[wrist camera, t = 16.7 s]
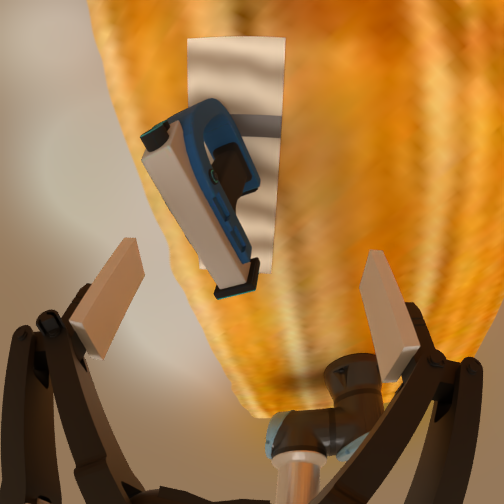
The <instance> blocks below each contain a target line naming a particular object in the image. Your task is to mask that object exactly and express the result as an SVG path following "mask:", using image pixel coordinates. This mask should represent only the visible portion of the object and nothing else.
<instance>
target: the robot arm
mask: <svg viewBox="0 0 504 504" xmlns="http://www.w3.org/2000/svg"><path fill="white" fill-rule="evenodd" d="M144 276H145V274H144V270H143V266H142V262H141V258H140V254H139V250H138V246H137V241H136V238H124V239H123V240H122V242H121V243H120V245H119V246H118V247H117V249H116V250H115V251H114V253H113V255H111V257H110V258H109V260H108V261H107V263H106V264H105V266H104V267H103V268H102V270H101V271H100V273H99V274H98V276H97V277H96V279H95V280H94V282H93V283H92V284H89V283H87V284H86V285H85V286H83V287H82V288H81V289H80V290H79V292H78V293H77V295H76V297H75V298H74V299H73V301H72V303H71V304H70V305H69V307H68V308H67V310H66V312H65V313H64V315H63V316H62V318H60V316H59V314H58V312H57V311H55V310H47V311H45V312H43V313H42V314H41V315H39V317H38V319H37V321H36V326H37V327H38V329H39V330H40V332H33V330H32V329H31V327H30V326H28V325H24V326H21V327H19V328H18V329H17V330H16V331H15V332H14V334H13V337H12V341H11V347H10V352H9V358H8V364H7V370H6V377H5V385H4V395H3V405H2V406H3V407H2V421H1V467H2V483H1V488H0V504H62V498H61V488H60V481H59V474H58V466H57V458H56V447H55V433H54V409H53V407H54V406H53V392H54V396H55V400H56V404H57V408H58V412H59V415H60V419H61V422H62V425H63V429H64V432H65V435H66V438H67V441H68V444H69V447H70V450H71V453H72V455H73V458H74V461H75V464H76V468H75V469H74V476H75V479H76V481H77V484H78V486H79V489H80V491H81V493H82V495H83V497H84V499H85V502H86V504H270V501H268V500H249V499H239V500H230V501H219V502H211V501H208V500H205V499H203V498H201V497H198V496H196V495H193V494H191V493H188V492H186V491H182V490H177V489H172V488H167V487H163V486H160V488H159V489H155V490H149V491H145V489H144V487H143V486H142V484H141V483H140V481H139V480H138V479H137V478H136V477H135V475H134V474H133V472H132V471H131V469H130V467H129V465H128V463H127V461H126V459H125V457H124V455H123V453H122V451H121V449H120V447H119V445H118V443H117V441H116V438H115V436H114V434H113V432H112V429H111V427H110V425H109V422H108V420H107V417H106V415H105V413H104V410H103V408H102V405H101V402H100V400H99V398H98V395H97V392H96V389H95V386H94V383H93V381H92V378H91V375H90V372H89V368H88V365H87V363H86V359H85V358H84V354H85V352H86V351H87V352H88V354H89V356H90V357H91V358H94V359H98V360H102V361H103V360H104V358H105V355H106V353H107V351H108V349H109V346H110V345H111V342H112V340H113V338H114V336H115V334H116V332H117V330H118V328H119V326H120V323H121V321H122V319H123V317H124V315H125V313H126V311H127V309H128V307H129V305H130V303H131V301H132V299H133V297H134V295H135V293H136V292H137V290H138V288H139V286H140V284H141V282H142V280H143V278H144ZM359 289H360V292H361V296H362V300H363V304H364V307H365V311H366V315H367V319H368V323H369V327H370V331H371V335H372V339H373V343H374V348H375V352H376V356H375V355H372V354H354V355H349V356H345V357H343V358H340V359H338V360H336V361H334V362H333V363H331V364H330V365H329V366H328V367H327V368H326V370H325V372H324V378H325V384H326V386H327V388H328V390H329V392H330V394H331V396H332V399H333V401H334V408H326V409H315V410H303V411H295V410H291V411H287V412H278V413H276V414H275V415H273V417H272V418H271V420H270V422H269V426H268V429H267V435H266V444H265V452H266V456H267V458H269V459H272V465H273V466H274V467H275V468H277V469H278V480H277V491H276V503H275V504H367V502H368V501H369V499H370V498H371V497H372V496H373V494H374V493H375V492H376V490H377V489H378V488H379V486H380V485H381V484H382V482H383V481H384V479H385V478H386V477H387V475H388V474H389V472H390V471H391V469H392V468H393V466H394V465H395V463H396V461H397V460H398V458H399V457H400V456H401V454H402V452H403V451H404V449H405V447H406V446H407V444H408V443H409V441H410V439H411V437H412V436H413V434H414V432H415V430H416V429H417V427H418V425H419V423H420V421H421V420H422V418H423V416H424V414H425V412H426V410H427V408H428V406H429V404H430V402H431V400H434V406H433V410H432V415H431V419H430V423H429V427H428V432H427V435H426V439H425V443H424V446H423V450H422V453H421V457H420V460H419V463H418V466H417V469H416V473H415V475H414V478H413V481H412V484H411V487H410V489H409V492H408V495H407V497H406V500H405V502H404V504H463V500H464V497H465V493H466V490H467V486H468V482H469V478H470V474H471V469H472V464H473V460H474V455H475V448H476V443H477V437H478V430H479V422H480V413H481V403H482V388H483V368H482V365H481V363H480V362H479V361H478V360H477V359H475V358H473V357H466V358H464V359H463V360H462V362H461V363H459V362H454V361H450V360H447V359H446V357H445V356H444V354H443V353H442V352H440V351H439V350H436V349H435V347H434V344H433V342H432V339H431V336H430V334H429V331H428V329H427V326H426V323H425V321H424V319H423V316H422V314H421V311H420V309H419V308H418V307H417V306H416V305H415V304H414V302H404V300H403V297H402V295H401V292H400V290H399V287H398V285H397V283H396V280H395V278H394V276H393V273H392V271H391V269H390V266H389V264H388V262H387V260H386V257H385V255H384V253H383V251H382V250H370V251H369V255H368V258H367V262H366V266H365V269H364V273H363V276H362V280H361V283H360V286H359ZM401 375H402V379H403V383H402V384H401V386H400V387H399V388H398V390H397V391H396V392H395V393H396V394H395V395H394V397H393V399H392V400H391V402H390V403H389V405H388V406H387V408H386V409H385V411H384V406H383V400H382V395H381V387H382V383H388V382H397V380H398V379H399V378H400V376H401ZM332 455H336V458H337V460H339V461H347V462H346V463H345V465H344V466H343V467H342V468H341V469H340V470H339V472H338V473H337V474H336V475H335V476H334V478H333V479H332V480H331V481H330V482H329V483H328V484H327V485H326V486H325V487H324V488H323V490H322V491H321V492H320V468H321V467H323V466H324V465H325V464H326V462H327V456H332Z"/></svg>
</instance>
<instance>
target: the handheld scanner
mask: <svg viewBox="0 0 504 504" xmlns="http://www.w3.org/2000/svg"><path fill="white" fill-rule="evenodd" d="M140 138H141V140H142V142H143V144H144V145H145V147H146V150H145V152H144V154H143V157H142V159H141V161H142V163H143V165H144V166H145V168H146V170H147V172H148V173H149V175H150V177H151V179H152V180H153V182H154V184H155V185H156V187H157V189H158V191H159V192H160V194H161V196H162V197H163V199H164V201H165V203H166V205H167V206H168V208H169V210H170V211H171V213H172V214H173V216H174V217H175V219H176V221H177V222H178V224H179V225H180V227H181V229H182V230H183V232H184V234H185V236H186V238H187V239H188V241H189V242H190V244H191V245H192V246H193V248H194V250H195V251H196V253H197V254H198V256H199V258H200V259H201V261H202V262H203V264H204V266H205V267H206V269H207V270H208V272H209V273H210V275H211V276H212V278H213V279H214V281H215V282H216V284H217V285H216V288H215V291H214V296H215V297H216V299H217V300H219V299H223V298H227V297H231V296H236V295H240V294H244V293H248V292H252V291H255V290H256V286H257V280H258V274H259V268H260V260H259V258H258V257H255V258H252V259H251V253H252V246H251V244H250V242H249V240H248V237H247V235H246V233H245V231H244V229H243V227H242V226H241V224H240V222H239V220H238V218H237V216H236V204H237V200H238V199H239V198H240V197H242V196H244V195H247V194H250V193H253V192H256V190H258V187H260V182H261V179H260V177H259V175H258V172H257V170H256V168H255V166H254V163H253V161H252V159H251V157H250V154H249V152H248V150H247V148H246V145H245V143H244V141H243V139H242V137H241V134H240V132H239V130H238V128H237V126H236V124H235V122H234V120H233V119H232V117H231V115H230V114H229V112H228V111H227V109H226V108H225V107H224V105H223V104H222V103H221V102H220V101H218V100H217V99H214V98H209V99H206V100H204V101H202V102H199V103H197V104H195V105H193V106H191V107H189V108H187V109H185V110H183V111H181V112H179V113H177V114H175V115H173V116H171V117H170V118H168V119H167V120H165V121H163V122H161V123H159V124H157V125H155V126H154V127H153V128H152V129H151V130H149V131H147V132H145V133H144V134H142V135H141V136H140ZM204 142H205V144H206V146H207V148H208V150H209V152H210V154H211V156H212V158H213V160H214V161H213V163H212V164H211V163H210V161H209V158H208V155H207V152H206V149H205V145H204Z"/></svg>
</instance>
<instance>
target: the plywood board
mask: <svg viewBox="0 0 504 504" xmlns="http://www.w3.org/2000/svg"><path fill="white" fill-rule="evenodd" d="M284 62H285V38H281V37H258V36H229V37H206V38H192V39H188V108H189V107H191V106H193V105H195V104H197V103H199V102H202V101H204V100H206V99H209V98H214V99H217V100H218V101H220V102H221V103H222V104H223V105H224V107H225V108H226V109H227V111H228V112H229V114H230V115H231V117H232V119H233V120H234V122H235V124H236V126H237V128H238V130H239V132H240V134H241V137H242V139H243V141H244V143H245V145H246V148H247V150H248V152H249V154H250V157H251V159H252V161H253V163H254V166H255V168H256V170H257V172H258V175H259V177H260V179H261V182H260V187H258V190H256V192H253V193H250V194H247V195H244V196H242V197H240V198H239V199H238V200H237V204H236V216H237V218H238V220H239V222H240V224H241V226H242V227H243V229H244V231H245V233H246V235H247V237H248V240H249V242H250V244H251V246H252V253H251V259H252V258H255V257H258V258H259V260H260V268H259V273H266V274H271V267H272V255H273V242H274V229H275V216H276V202H277V187H278V172H279V156H280V140H281V123H282V104H283V84H284ZM204 145H205V149H206V152H207V155H208V158H209V161H210V163H211V164H212V163H213V161H214V160H213V158H212V156H211V154H210V152H209V150H208V148H207V146H206V144H205V142H204ZM198 257H199V256H198ZM199 267H200V269H206V267H205V266H204V264H203V262H202V261H201V259H200V258H199Z"/></svg>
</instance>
